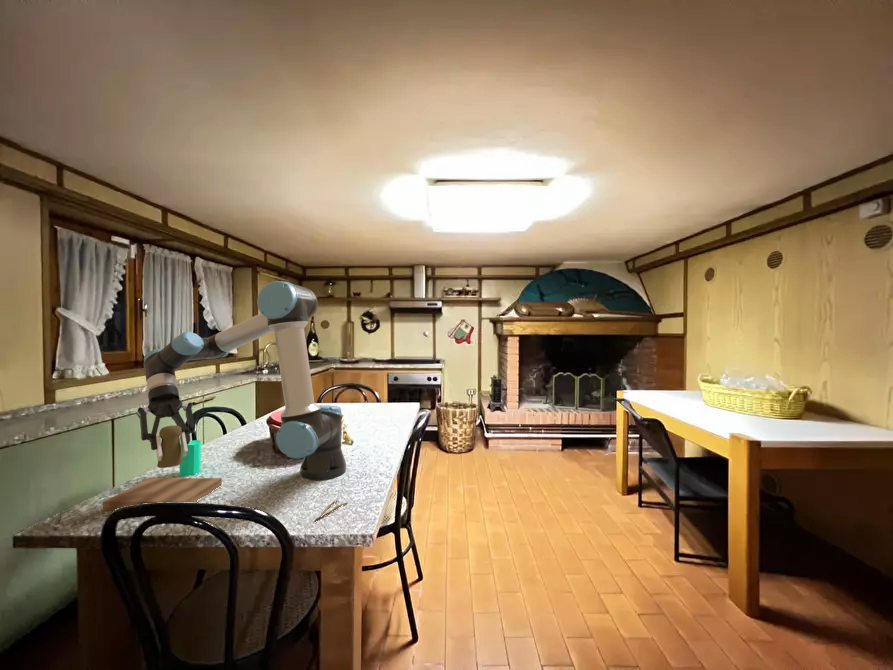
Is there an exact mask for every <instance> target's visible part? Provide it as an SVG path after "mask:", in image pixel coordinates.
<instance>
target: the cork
mask: <svg viewBox="0 0 893 670" xmlns="http://www.w3.org/2000/svg"><path fill="white" fill-rule="evenodd" d="M181 433H182V429H181V427H180V426H177V425H173V424H172V425H167V426H164V427H161V428H160V430H159V435H158V436H160V441H161V449H162V459H161V461H158V460H157V464H156V467H157V468H161V469H165V468H173V467H176V466H180V464H182V463H183V458H182V452H181V445H180V443H181V441H180V436H181Z"/></svg>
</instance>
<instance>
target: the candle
mask: <svg viewBox="0 0 893 670" xmlns="http://www.w3.org/2000/svg"><path fill="white" fill-rule="evenodd" d="M180 445H181V442H180ZM187 448H188V452H187V455H186V456H183V452H182V447H181V452H182V458H183V463H182V464H180V465H179V476H180V477H190V476H189V475H191V476H194V475H193V474H195V475H197V474H196V473H198V474H199V472H200V471H201V467H202V464H201V463H202V461H201V460H202V459H201V458H202V441H201V440H200V439H195V440H192V438H191V437H190V442H189V444H187ZM200 473H201V472H200Z"/></svg>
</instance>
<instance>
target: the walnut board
mask: <svg viewBox="0 0 893 670" xmlns="http://www.w3.org/2000/svg"><path fill="white" fill-rule="evenodd" d="M222 479H223V478H221V477H208V478H207V477H202V478H201V477H196V478H195V477H182V478H180V477H174V478H172V477H168V478H167V477H163V478H161V477H158V478H157V477H154V478H153V477H149V478H148V479H145V480H143V481H142V482H139V483H138V484H136V485H134V486H132V487H130V488H127V489H126V490H124V491H122V492H120V493H117V494H115V495H114V496H112V497H109V498H107V499H106V500H103V501H102V512H114V511H113V510H115V509H117V508H121V507H124V506H130V505H137V504H143V503H157V502H197V500H198V499H200V498H202V497H204V496H206V495H208V494H209V493H211V492H212V491H213V490H215V489H216V488H218V487H219V486H221V485H223V484H222V482H223V480H222ZM221 487H222V486H221ZM218 489H219V488H218ZM215 491H216V490H215ZM211 494H212V493H211ZM208 496H209V495H208Z"/></svg>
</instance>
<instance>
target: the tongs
mask: <svg viewBox="0 0 893 670" xmlns="http://www.w3.org/2000/svg"><path fill="white" fill-rule="evenodd" d="M335 501H336V500H334V501H333V502H331V503H330V504H328V505H327V506H326V508H324V509H325V510H324V511H323V512H322V514H321V515H320V516H318V517H316V518H315V519H314V521H313V522H316V521H318V520H319V519H320V518H322V517H323V518H325V517H326V516H325V515H327V514H329V513H330V512H332V511H334V510H336V509H337V510H339V509H340V508H339V507H341V506H342V505H344V506H345V505H347V504H348V501H347V503H344V502H343V503H341V504H338V505H336V506H334V508H332V507H331V505H332V504H334V503H335V504H337V503H336V502H335ZM337 501H338V503H340V502H339V501H340V500H337ZM335 504H334V505H335ZM330 507H331V508H332V509H331V510H330V509H329V508H330ZM338 508H339V509H338ZM341 508H342V507H341ZM328 509H329V510H328ZM327 510H328V511H327ZM337 510H336V511H337ZM326 511H327V512H326ZM325 512H326V513H325ZM334 512H335V511H334ZM324 513H325V514H324ZM332 513H333V512H332ZM323 514H324V515H323ZM330 514H331V513H330ZM330 514H329V515H330ZM322 515H323V516H322ZM321 516H322V517H321ZM324 516H325V517H324ZM327 516H328V515H327ZM323 518H322V519H323ZM319 521H320V520H319ZM319 521H318V522H319ZM316 523H317V522H316Z"/></svg>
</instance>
